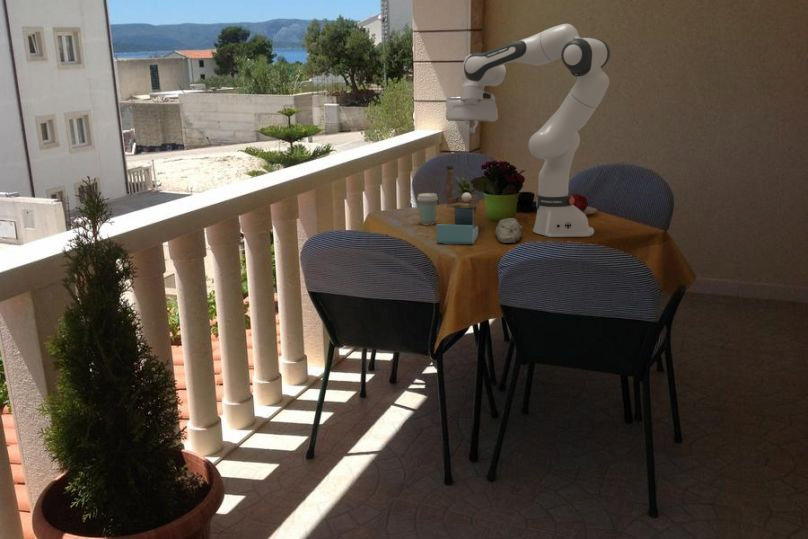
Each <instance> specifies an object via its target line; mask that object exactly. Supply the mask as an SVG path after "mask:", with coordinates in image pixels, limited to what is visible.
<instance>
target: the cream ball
mask: <svg viewBox="0 0 808 539" xmlns="http://www.w3.org/2000/svg"><path fill="white" fill-rule="evenodd" d="M471 195H472V193H471V194H470V192H469V193H464V194H463V195H462V201H463V202H465V203H469V200H470V199H472V196H471Z"/></svg>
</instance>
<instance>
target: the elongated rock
mask: <svg viewBox="0 0 808 539" xmlns="http://www.w3.org/2000/svg"><path fill="white" fill-rule="evenodd" d="M495 228H496V229H495V232H494V233H495V236H496V237H497V240H498V241H499V242H500V243H504V244H505V243H506V244H511V243H513V244H514V243H516V242H517V241H518V242H519V241H520V239H521V237H522V230H523V226H522V225H520V222H518V219H517V218H515V217H508V218H503V219H499V221H498V223H497V226H496V227H495Z"/></svg>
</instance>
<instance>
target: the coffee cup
mask: <svg viewBox="0 0 808 539" xmlns="http://www.w3.org/2000/svg"><path fill="white" fill-rule="evenodd" d="M416 200H417V205H418V206H417V207H418V212H419V220H420V224H421V225H422V224H433V223H435V224H436V218H437V217H436V216H437V206H438V201H439V197H438V195H437V193H434V192H424V193H418V194H417V198H416Z"/></svg>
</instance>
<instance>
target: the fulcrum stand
mask: <svg viewBox="0 0 808 539" xmlns="http://www.w3.org/2000/svg"><path fill="white" fill-rule="evenodd" d="M474 214H475V213H474V208H454V225H473V226H474V225H475V224H474V216H475V215H474Z"/></svg>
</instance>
